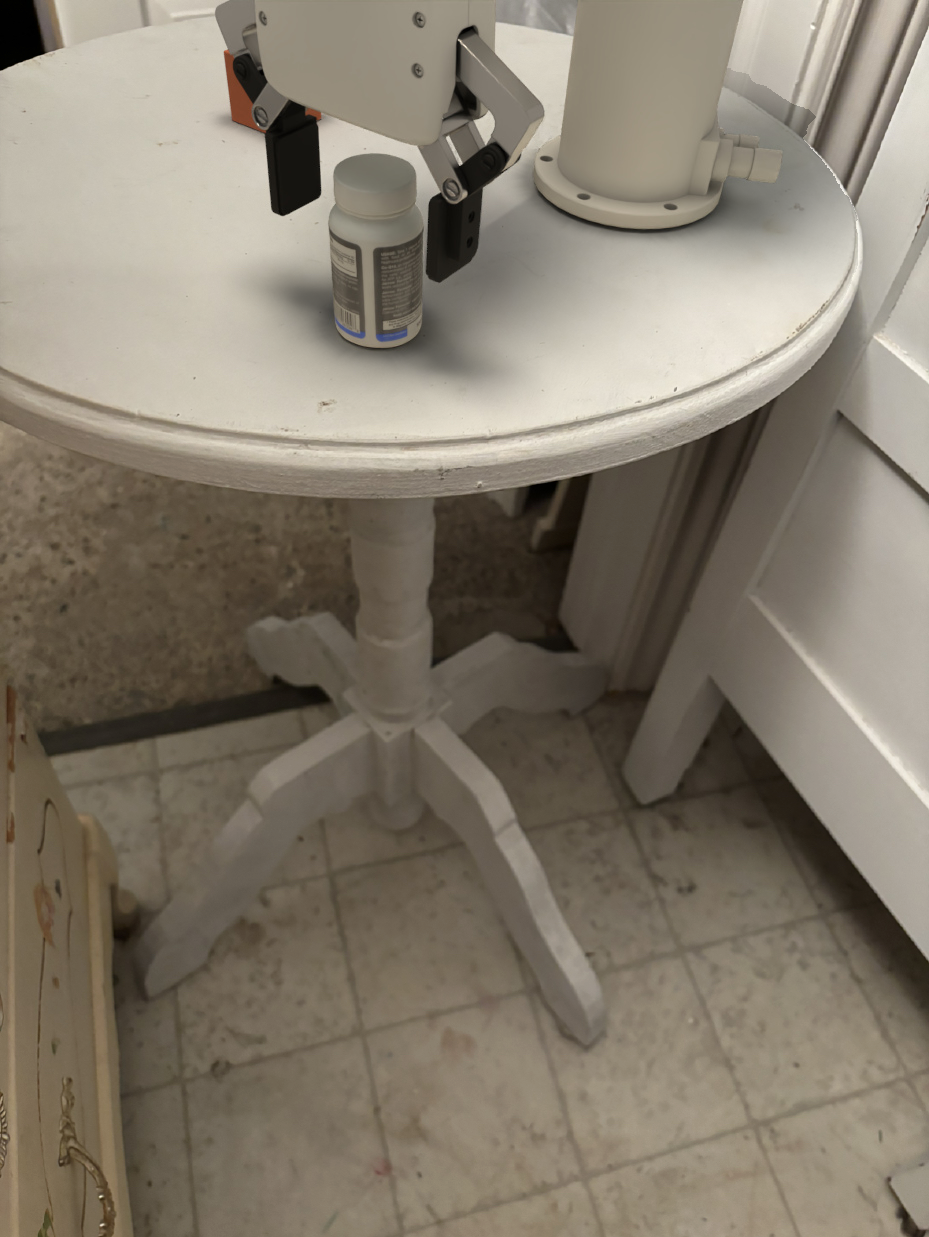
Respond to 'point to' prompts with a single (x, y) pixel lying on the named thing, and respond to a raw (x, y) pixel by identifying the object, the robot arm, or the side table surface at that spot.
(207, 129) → the side table surface
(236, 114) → the terracotta block
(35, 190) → the side table surface
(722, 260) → the side table surface
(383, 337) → the pill bottle
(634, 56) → the robot arm
